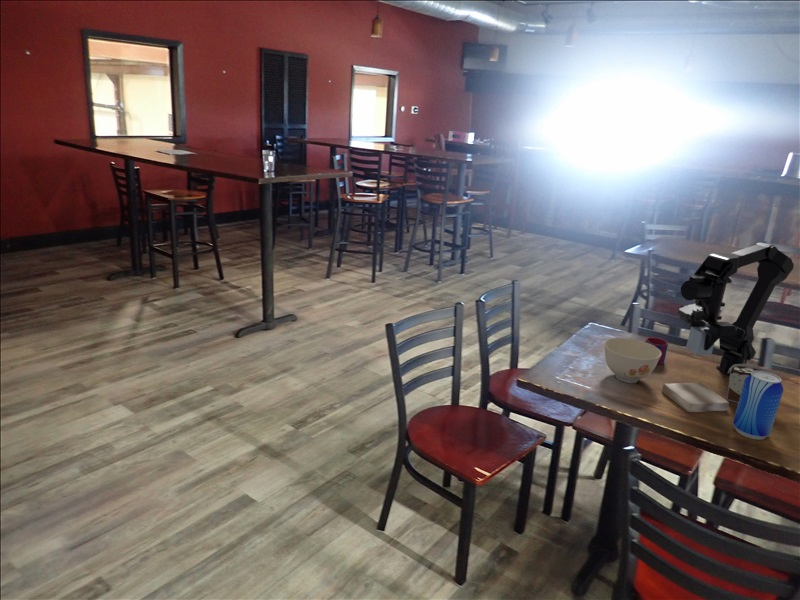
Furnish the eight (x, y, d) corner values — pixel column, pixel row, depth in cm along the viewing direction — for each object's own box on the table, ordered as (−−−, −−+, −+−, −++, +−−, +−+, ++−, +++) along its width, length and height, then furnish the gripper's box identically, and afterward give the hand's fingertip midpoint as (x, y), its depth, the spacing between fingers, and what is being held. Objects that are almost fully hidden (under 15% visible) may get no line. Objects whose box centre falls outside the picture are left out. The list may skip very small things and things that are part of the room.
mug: (638, 359, 190) (642, 340, 188) (649, 351, 198) (653, 333, 195) (659, 366, 186) (664, 347, 184) (670, 358, 193) (674, 339, 191)
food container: (770, 402, 167) (779, 370, 163) (770, 411, 161) (779, 378, 158) (721, 390, 172) (729, 359, 169) (720, 398, 167) (729, 366, 164)
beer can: (759, 444, 144) (777, 386, 139) (725, 429, 151) (740, 373, 145) (774, 435, 149) (791, 379, 144) (741, 420, 155) (756, 366, 150)
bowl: (599, 384, 171) (605, 353, 168) (598, 363, 186) (603, 334, 183) (657, 394, 167) (664, 363, 164) (652, 372, 182) (658, 342, 178)
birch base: (698, 390, 171) (700, 382, 171) (727, 410, 160) (729, 402, 160) (662, 391, 169) (663, 383, 168) (688, 412, 158) (690, 404, 157)
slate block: (700, 347, 178) (705, 326, 176) (711, 354, 174) (717, 332, 171) (686, 348, 177) (691, 326, 175) (696, 354, 173) (702, 333, 170)
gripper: (667, 287, 177) (657, 335, 182) (709, 308, 160) (696, 360, 165) (700, 287, 179) (689, 334, 184) (744, 308, 162) (730, 359, 167)
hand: (699, 346), depth 175 cm, fingers closed on slate block, 5 cm apart
